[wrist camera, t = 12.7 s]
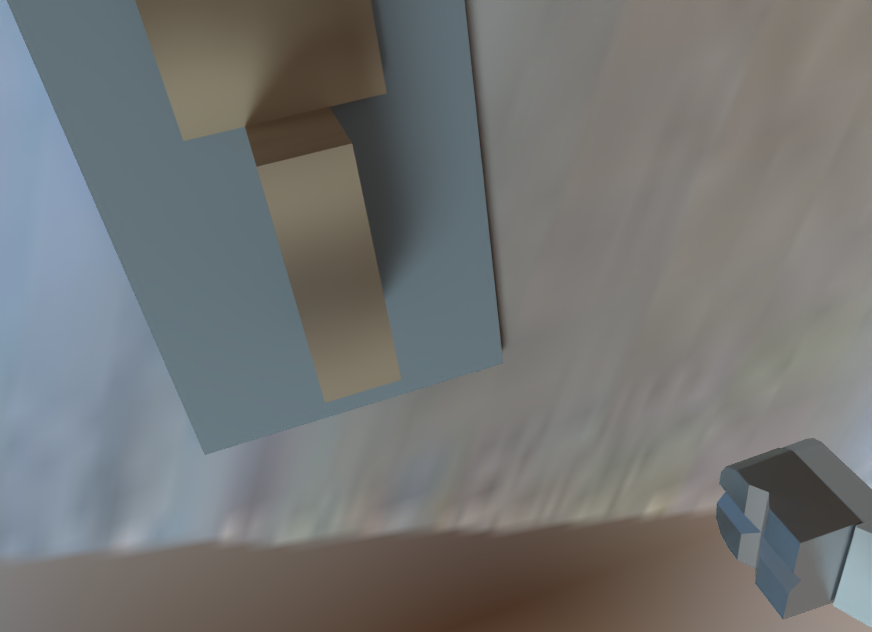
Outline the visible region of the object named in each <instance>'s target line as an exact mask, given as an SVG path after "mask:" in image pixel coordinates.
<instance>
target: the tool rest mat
mask: <svg viewBox="0 0 872 632" xmlns="http://www.w3.org/2000/svg"><path fill="white" fill-rule="evenodd" d="M7 2H8V4H9V6H10V9H11V11H12V13H13V16H14V18H15V20H16V23H17V25H18V27H19V29H20V32H21V34H22V36H23V39H24V41H25V43H26V46H27V48H28V50H29V52H30V55H31V57H32V59H33V62H34V64H35V66H36V68H37V71H38V73H39V75H40V78H41V80H42V82H43V85H44V87H45V89H46V91H47V94H48V96H49V98H50V101H51V103H52V105H53V108H54V110H55V112H56V114H57V117H58V119H59V121H60V124H61V126H62V128H63V130H64V133H65V135H66V137H67V140H68V142H69V144H70V147H71V149H72V151H73V153H74V156H75V158H76V160H77V163H78V165H79V167H80V170H81V172H82V174H83V176H84V179H85V181H86V183H87V186H88V188H89V190H90V192H91V195H92V197H93V199H94V202H95V204H96V206H97V209H98V211H99V213H100V215H101V218H102V220H103V222H104V225H105V227H106V229H107V232H108V234H109V236H110V238H111V241H112V243H113V245H114V248H115V250H116V252H117V254H118V257H119V259H120V261H121V264H122V266H123V268H124V271H125V273H126V275H127V277H128V280H129V282H130V284H131V287H132V289H133V291H134V293H135V296H136V298H137V300H138V303H139V305H140V307H141V310H142V312H143V314H144V316H145V319H146V321H147V323H148V326H149V328H150V330H151V333H152V335H153V337H154V339H155V342H156V344H157V346H158V349H159V351H160V353H161V355H162V358H163V360H164V362H165V365H166V367H167V369H168V372H169V374H170V376H171V378H172V381H173V383H174V385H175V388H176V390H177V392H178V395H179V397H180V399H181V401H182V404H183V406H184V408H185V411H186V413H187V415H188V417H189V420H190V422H191V424H192V427H193V429H194V431H195V434H196V436H197V438H198V440H199V443H200V445H201V447H202V450H203V452H204V454H205V455H206V454H209V453H212V452H216V451H219V450H222V449H225V448H229V447H232V446H235V445H238V444H242V443H245V442H248V441H251V440H255V439H258V438H261V437H264V436H268V435H271V434H274V433H277V432H281V431H284V430H287V429H290V428H294V427H297V426H300V425H303V424H307V423H310V422H313V421H316V420H320V419H323V418H326V417H329V416H333V415H336V414H339V413H342V412H346V411H349V410H352V409H355V408H359V407H362V406H365V405H368V404H372V403H375V402H378V401H381V400H385V399H388V398H391V397H394V396H398V395H401V394H404V393H407V392H411V391H414V390H417V389H420V388H424V387H427V386H430V385H433V384H437V383H440V382H443V381H446V380H450V379H453V378H456V377H459V376H463V375H466V374H469V373H472V372H476V371H479V370H482V369H485V368H489V367H492V366H495V365H498V364H502V363H503V358H502V348H501V339H500V330H499V320H498V311H497V301H496V292H495V282H494V273H493V264H492V254H491V245H490V235H489V226H488V216H487V207H486V198H485V188H484V179H483V169H482V160H481V151H480V141H479V132H478V122H477V113H476V103H475V94H474V85H473V75H472V66H471V56H470V47H469V37H468V28H467V19H466V9H465V0H371V5H372V11H373V17H374V22H375V28H376V34H377V40H378V45H379V51H380V57H381V63H382V68H383V74H384V80H385V86H386V92H387V93H386V94H381V95H377V96H373V97H369V98H364V99H360V100H356V101H352V102H347V103H343V104H339V105H335V106H331V107H330V108H331V110H332V112H333V113H334V115H335V117H336V118H337V120H338V121H339V123H340V125H341V126H342V128H343V129H344V131H345V133H346V134H347V136H348V137H349V139H350V141H351V142H352V145H353V150H354V155H355V159H356V164H357V169H358V174H359V179H360V183H361V188H362V193H363V198H364V203H365V207H366V212H367V217H368V222H369V227H370V231H371V236H372V241H373V246H374V251H375V255H376V260H377V265H378V270H379V275H380V279H381V284H382V289H383V294H384V299H385V303H386V308H387V313H388V318H389V323H390V327H391V332H392V337H393V342H394V347H395V351H396V356H397V361H398V366H399V371H400V375H401V380H399V381H395V382H392V383H389V384H385V385H382V386H379V387H376V388H372V389H369V390H366V391H362V392H359V393H356V394H353V395H349V396H346V397H343V398H339V399H336V400H333V401H330V402H326V403H325V401H324V397H323V394H322V390H321V387H320V384H319V380H318V377H317V373H316V370H315V366H314V363H313V360H312V356H311V353H310V349H309V346H308V343H307V339H306V336H305V332H304V329H303V325H302V322H301V319H300V315H299V312H298V308H297V305H296V301H295V298H294V294H293V291H292V288H291V284H290V281H289V277H288V274H287V270H286V267H285V263H284V260H283V257H282V253H281V250H280V246H279V243H278V239H277V236H276V233H275V229H274V226H273V222H272V219H271V215H270V212H269V208H268V205H267V202H266V198H265V195H264V191H263V188H262V184H261V181H260V177H259V174H258V171H257V167H256V164H255V160H254V157H253V153H252V150H251V147H250V143H249V140H248V136H247V133H246V129H245V127H241V128H237V129H233V130H229V131H224V132H220V133H216V134H212V135H207V136H203V137H199V138H195V139H190V140H186V141H183V138H182V135H181V132H180V130H179V127H178V124H177V121H176V118H175V115H174V112H173V109H172V106H171V103H170V100H169V97H168V95H167V92H166V89H165V86H164V83H163V80H162V77H161V74H160V71H159V68H158V65H157V63H156V60H155V57H154V54H153V51H152V48H151V45H150V42H149V39H148V36H147V33H146V30H145V28H144V25H143V22H142V19H141V16H140V13H139V10H138V7H137V4H136V1H135V0H7Z"/></svg>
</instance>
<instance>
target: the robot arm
mask: <svg viewBox="0 0 872 632" xmlns="http://www.w3.org/2000/svg"><path fill="white" fill-rule="evenodd" d="M719 484H720V485H721V486H722V488H723V489H724V490H725V491H726V492H725V493H724V494H723V496H722V497H721V498H720V500H719V501H718V502H717V509H716V520H717V523H718V527H719V530H720V534H721V536H722V538H723V540H724V541H725V543H726V545H727V547H728V548H729V550H730V551H731V552H732V554H733V555H734V556H735V558H736V559H737V560H738V561H740V562H742V563H744V564H746V565H748V566H751V567H753V568H755V584H756V585H757V587H758V588H759V589H760V590H761V592H762V593H763V594H764V595H765V597H766V598H767V599H768V601H769V602H770V603H771V605H772V606H773V607H774V608H775V610H776V611H777V612H778V614H779V615H780V616H781V617H782V619H786V618H789V617H792V616H795V615H798V614H801V613H804V612H806V611H809V610H812V609H815V608H818V607H821V606H824V605H827V604H830V603H833V602H834V604H833V606H835V607H837V608H838V609H840V610H842V611H844V612H845V613H847V614H849V615H850V616H852V617H854V618H855V619H857V620H859V621H861V622H862V623H864V624H866V625H867V626H869V627H871V628H872V489H871V488H870V487H869V486H868V485H867V484H865V483H864V482H863V481H862V480H861V479H860V478H859V477H858V476H857V475H856V474H855V473H854V472H853V471H852V470H851V469H850V468H849V467H847V466H846V465H845V464H844V463H843V462H842V461H841V460H840V459H839V458H838V457H837V456H836V455H835V454H834V453H833V452H832V451H830V450H829V449H828V448H827V447H826V446H825V445H824V444H823V443H822V442H821V441H818V440H816V439H814V438H810V439H805V440H802V441H800V442H797V443H794V444H791V445H789V446H786V447H783V448H777V449H774V450H771V451H768V452H766V453H763V454H760V455H757V456H754V457H751V458H749V459H746V460H743V461H740V462H737V463H735V464H732V465H729V466H726V467H725V468H724V469H723V471H722V472H721V475H720V482H719Z"/></svg>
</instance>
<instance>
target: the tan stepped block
mask: <svg viewBox="0 0 872 632" xmlns="http://www.w3.org/2000/svg"><path fill="white" fill-rule="evenodd" d="M135 1H136V4H137V7H138V10H139V13H140V16H141V19H142V22H143V25H144V28H145V30H146V33H147V36H148V39H149V42H150V45H151V48H152V51H153V54H154V57H155V60H156V63H157V65H158V68H159V71H160V74H161V77H162V80H163V83H164V86H165V89H166V92H167V95H168V97H169V100H170V103H171V106H172V109H173V112H174V115H175V118H176V121H177V124H178V127H179V130H180V132H181V135H182V138H183V141H186V140H190V139H195V138H199V137H203V136H207V135H212V134H216V133H220V132H224V131H229V130H233V129H237V128H241V127H245V129H246V133H247V136H248V140H249V143H250V147H251V150H252V153H253V157H254V160H255V164H256V167H257V171H258V174H259V177H260V181H261V184H262V188H263V191H264V195H265V198H266V202H267V205H268V208H269V212H270V215H271V219H272V222H273V226H274V229H275V233H276V236H277V239H278V243H279V246H280V250H281V253H282V257H283V260H284V263H285V267H286V270H287V274H288V277H289V281H290V284H291V288H292V291H293V294H294V298H295V301H296V305H297V308H298V312H299V315H300V319H301V322H302V325H303V329H304V332H305V336H306V339H307V343H308V346H309V349H310V353H311V356H312V360H313V363H314V366H315V370H316V373H317V377H318V380H319V384H320V387H321V390H322V394H323V397H324V401H325V403H326V402H330V401H333V400H336V399H339V398H343V397H346V396H349V395H353V394H356V393H359V392H362V391H366V390H369V389H372V388H376V387H379V386H382V385H385V384H389V383H392V382H395V381H399V380H401V375H400V371H399V366H398V361H397V356H396V351H395V347H394V342H393V337H392V332H391V327H390V323H389V318H388V313H387V308H386V303H385V299H384V294H383V289H382V284H381V279H380V275H379V270H378V265H377V260H376V255H375V251H374V246H373V241H372V236H371V231H370V227H369V222H368V217H367V212H366V207H365V203H364V198H363V193H362V188H361V183H360V179H359V174H358V169H357V164H356V159H355V155H354V150H353V145H352V142H351V141H350V139H349V137H348V136H347V134H346V133H345V131H344V129H343V128H342V126H341V125H340V123H339V121H338V120H337V118H336V117H335V115H334V113H333V112H332V110H331V108H330V107H331V106H335V105H339V104H343V103H347V102H352V101H356V100H360V99H364V98H369V97H373V96H377V95H381V94H386V93H387V92H386V86H385V80H384V74H383V68H382V63H381V57H380V51H379V45H378V40H377V34H376V28H375V22H374V17H373V11H372V5H371V0H135Z"/></svg>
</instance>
